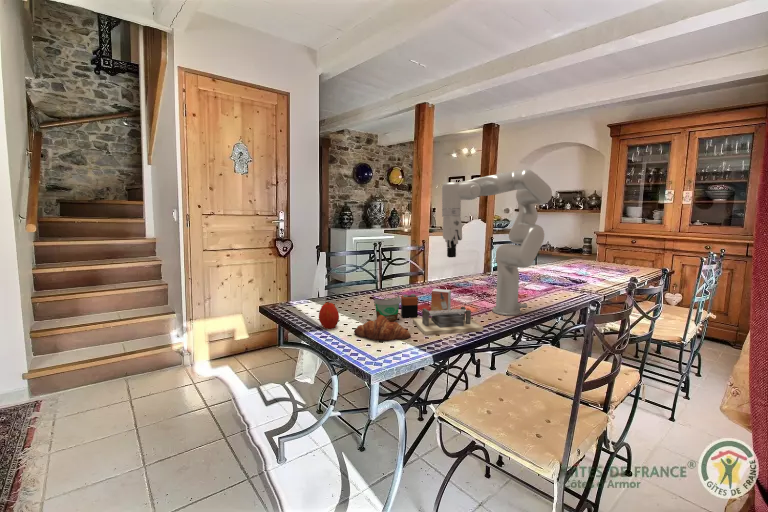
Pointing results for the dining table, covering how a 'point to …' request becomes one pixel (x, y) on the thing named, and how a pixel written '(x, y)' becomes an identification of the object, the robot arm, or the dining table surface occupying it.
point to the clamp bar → (447, 312)
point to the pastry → (382, 330)
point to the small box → (440, 299)
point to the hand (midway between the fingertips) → (451, 256)
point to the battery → (409, 306)
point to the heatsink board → (446, 323)
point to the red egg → (328, 316)
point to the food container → (388, 308)
